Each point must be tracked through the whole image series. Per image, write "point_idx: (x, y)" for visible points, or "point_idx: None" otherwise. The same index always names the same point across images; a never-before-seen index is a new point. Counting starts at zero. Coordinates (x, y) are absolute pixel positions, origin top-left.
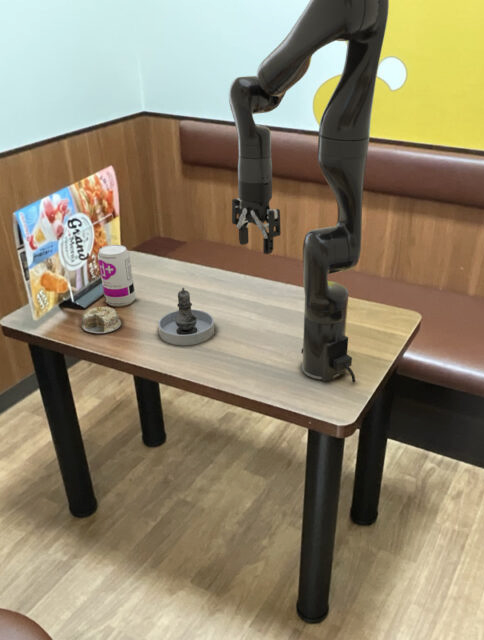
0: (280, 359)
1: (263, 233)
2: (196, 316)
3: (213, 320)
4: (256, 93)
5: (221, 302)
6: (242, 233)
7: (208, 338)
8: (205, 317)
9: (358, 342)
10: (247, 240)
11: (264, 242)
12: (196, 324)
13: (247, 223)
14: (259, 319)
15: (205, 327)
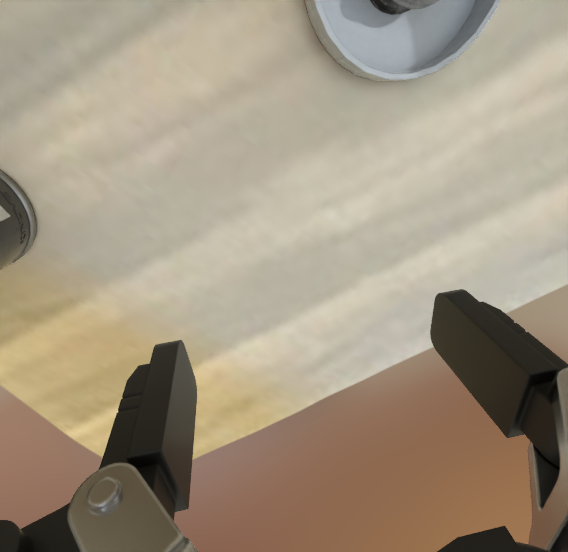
0: (74, 143)
1: (137, 513)
2: (403, 1)
3: (354, 63)
4: None
5: (459, 189)
6: (495, 358)
7: (307, 9)
8: (409, 72)
9: (79, 351)
10: (441, 349)
11: (148, 416)
12: (409, 31)
13: (543, 479)
14: (311, 223)
15: (373, 48)
